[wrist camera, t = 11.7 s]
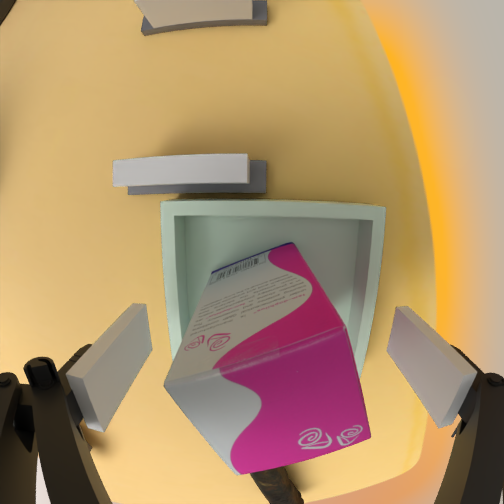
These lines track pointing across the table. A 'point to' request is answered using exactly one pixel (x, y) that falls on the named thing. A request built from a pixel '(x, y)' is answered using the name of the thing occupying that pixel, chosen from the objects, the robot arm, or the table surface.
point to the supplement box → (268, 366)
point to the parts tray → (269, 236)
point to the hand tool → (277, 486)
